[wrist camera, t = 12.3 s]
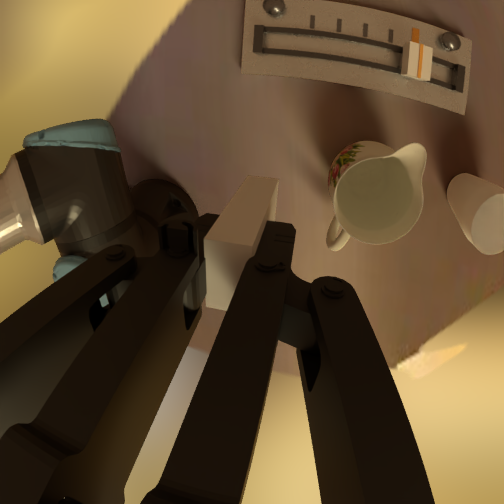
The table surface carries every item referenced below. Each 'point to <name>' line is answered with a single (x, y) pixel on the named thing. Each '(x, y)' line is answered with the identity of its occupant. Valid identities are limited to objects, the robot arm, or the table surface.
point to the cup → (478, 211)
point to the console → (353, 49)
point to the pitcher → (375, 192)
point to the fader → (416, 61)
